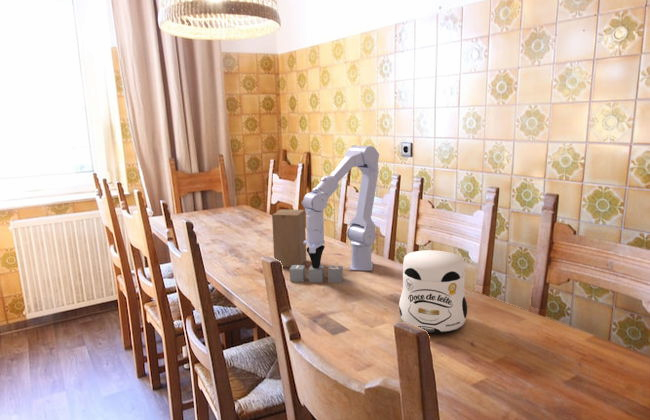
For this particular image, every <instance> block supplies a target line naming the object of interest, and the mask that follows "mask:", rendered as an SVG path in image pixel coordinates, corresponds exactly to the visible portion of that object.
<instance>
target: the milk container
mask: <svg viewBox="0 0 650 420" xmlns="http://www.w3.org/2000/svg"><path fill="white" fill-rule="evenodd" d="M403 257H404V258H403V263H402V270H403V271H402V291H401V295H400V297H399V301H398V302H399V303H398V309H399V316H400V317H401V320H402V321H403V323H404V322H406V323H409V324H412V325H415V326H418V327H420V328H422V329H424V330H426V331H427V332H428V333H429V334H446V333H451V332H454V331H457V330H458V329H460V328H462V327H463V326H464V324H465V322H466V321H467V320H466V319H467V315H468V303H467V300H466V295H465V282H466V275H465V274H466V263H465V260H464V258H463V256H461V255H459V254H457V253H453V252H449V251H444V250H434V249H433V250H432V249H428V250H427V249H425V250H424V249H423V250H418V251H411V252H409V253H406V255H404V256H403ZM427 332H426V333H427Z"/></svg>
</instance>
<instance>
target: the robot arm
mask: <svg viewBox="0 0 650 420" xmlns="http://www.w3.org/2000/svg"><path fill="white" fill-rule="evenodd" d="M379 158H380V153H379V151H378V150H377V149H376V147H374V146H372V145H369V146H367V145H355V144H354V145H351V146H349V148H348V150H347V151H345V153H344V157H343V158H342V160H341V161H340V162H339V164H338V165H337V166H336V167H335V169H334V170H333V171H332V172H331V174H330V175H325V176H322V178H320V182H319V183H318V184H317V185H316V186H315V187H313V189H312V190H311V191H310V192H307V193H306V194H305V195H304V197H303V200H302V201H301V204H302V207H303V208H304V211H305V227H306V240H305V241H304V242H303V243H304V244H306V253H308V256H309V259H310V262H311V265H312V267H313V268H319V267H320V265H321V262H322V256H323V252H324V250H325V248H326V247H325V244H326V243H325V234H324V233H325V231H324V230H325V229H324V228H325V227H324V225H325V224H324V222H325V221H324V210H325V209H326V208H327V206H328V201H329V198H330V197H331V196H332V195H333V194H334V192H335V191H337V190H338V188H339V182H340V181H341V180H342V179H343V178H344V177H345V176H346V175H347V174H348V173H349V172H350V171H351V170H352V169H353V168H355V167H357V168H358V169H359V170H360V172H361V173H362V175H361V181H360V188H359V192H358V193H359V194H358V201H357V207H356V213H355V216H354V217H353V218H352V219H351V220H350V224H349V226H348V227H347V230H346V236H347V238H348V240H349V242H350V244H351V263H350V266H349V267H350V268H349V270H350V271H367V272H368V271H373V264H374V262H373V261H372V246H373V244H374V242H375V241H376V238H377V237H376V236H377V233H376V224H375V222H374V221H373V219H372V216H373V215H372V214H373V208H374V201H375V195H376V188H377V182H378V177H379V171H380V170H379Z"/></svg>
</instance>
